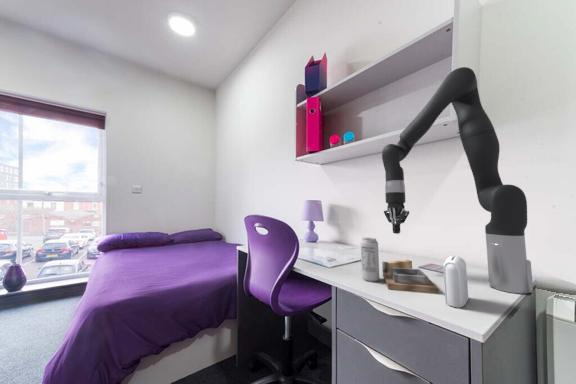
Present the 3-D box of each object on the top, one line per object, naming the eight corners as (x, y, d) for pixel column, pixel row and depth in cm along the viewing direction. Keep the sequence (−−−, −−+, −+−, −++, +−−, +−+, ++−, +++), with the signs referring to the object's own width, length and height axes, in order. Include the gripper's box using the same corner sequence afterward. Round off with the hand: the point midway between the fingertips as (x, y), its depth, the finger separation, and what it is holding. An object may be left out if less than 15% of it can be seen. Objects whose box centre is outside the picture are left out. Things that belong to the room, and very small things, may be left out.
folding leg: (385, 277, 84) (384, 263, 84) (381, 275, 86) (381, 261, 86) (412, 273, 88) (411, 260, 88) (408, 272, 90) (407, 259, 90)
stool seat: (425, 281, 80) (425, 268, 80) (438, 294, 68) (438, 279, 68) (383, 278, 84) (382, 265, 84) (388, 290, 72) (387, 275, 72)
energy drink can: (382, 280, 81) (380, 238, 82) (374, 284, 77) (372, 240, 78) (366, 276, 86) (365, 236, 87) (358, 280, 82) (357, 238, 83)
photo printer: (451, 294, 68) (449, 252, 69) (470, 298, 65) (467, 254, 65) (443, 305, 60) (440, 258, 61) (463, 310, 57) (460, 260, 58)
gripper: (377, 192, 101) (378, 232, 99) (398, 190, 88) (400, 235, 87) (391, 193, 102) (393, 231, 101) (414, 190, 90) (416, 235, 88)
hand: (396, 233), depth 94 cm, fingers closed
